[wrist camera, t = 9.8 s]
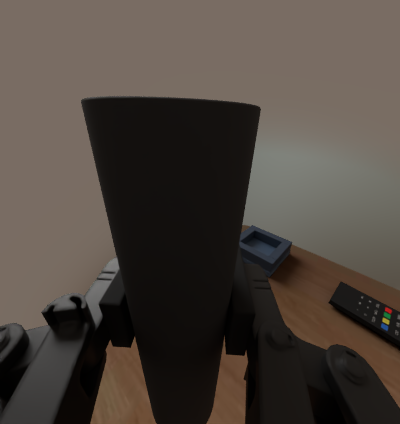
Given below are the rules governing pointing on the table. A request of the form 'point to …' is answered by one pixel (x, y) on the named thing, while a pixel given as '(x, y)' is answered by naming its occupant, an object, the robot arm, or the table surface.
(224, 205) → the tall dark cylinder
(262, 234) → the socket pad
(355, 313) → the remote control
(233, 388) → the table surface
